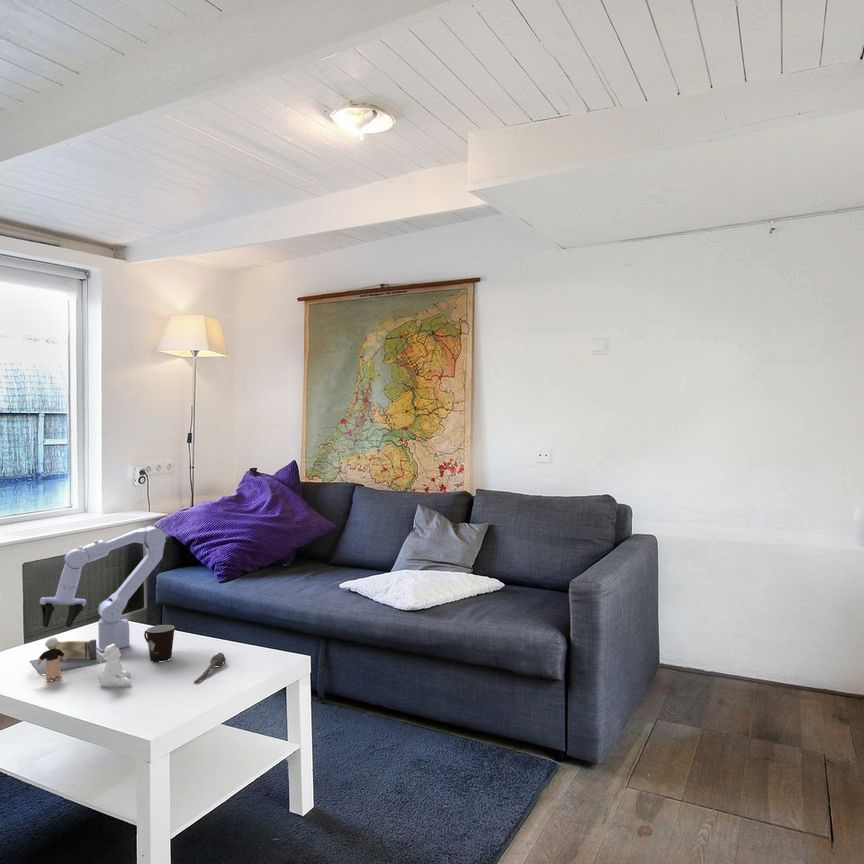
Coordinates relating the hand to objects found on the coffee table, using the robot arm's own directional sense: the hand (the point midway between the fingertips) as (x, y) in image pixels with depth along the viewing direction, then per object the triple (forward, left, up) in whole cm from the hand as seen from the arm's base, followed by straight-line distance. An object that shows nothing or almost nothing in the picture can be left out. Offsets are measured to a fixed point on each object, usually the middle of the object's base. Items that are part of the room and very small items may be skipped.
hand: (56, 626), depth 227 cm
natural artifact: (-33, +48, -11) cm, 59 cm away
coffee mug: (-25, +25, -10) cm, 37 cm away
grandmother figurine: (+6, +23, -10) cm, 26 cm away
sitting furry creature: (-7, +40, -10) cm, 42 cm away
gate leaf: (-3, +7, -9) cm, 12 cm away
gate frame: (-2, +8, -10) cm, 13 cm away
